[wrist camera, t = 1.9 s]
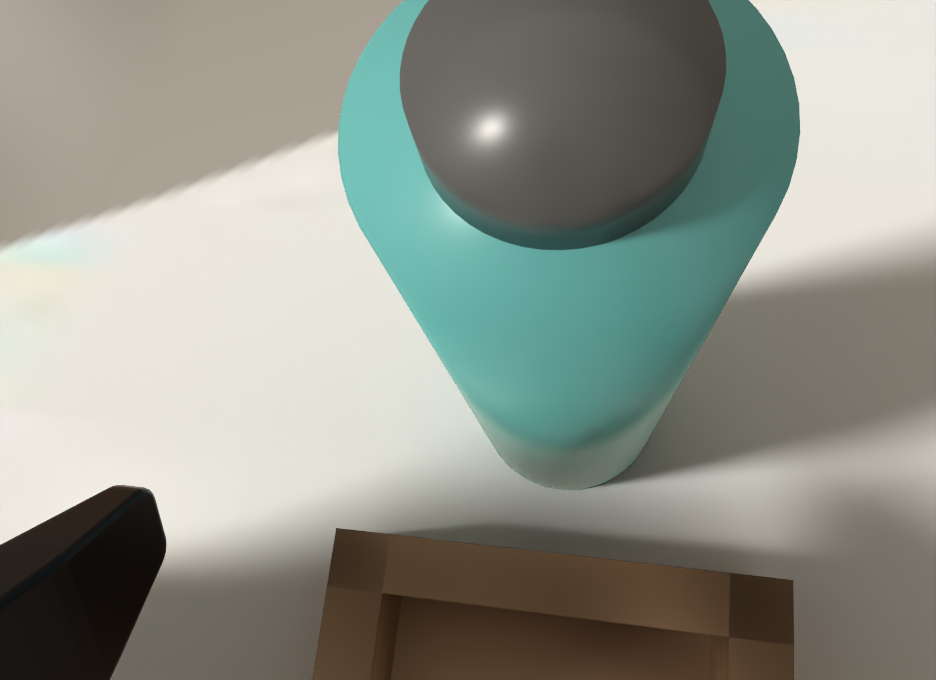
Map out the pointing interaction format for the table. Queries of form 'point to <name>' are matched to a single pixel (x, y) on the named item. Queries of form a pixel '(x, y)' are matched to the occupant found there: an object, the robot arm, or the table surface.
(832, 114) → the table surface
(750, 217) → the teal rounded cylinder
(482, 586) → the tray
